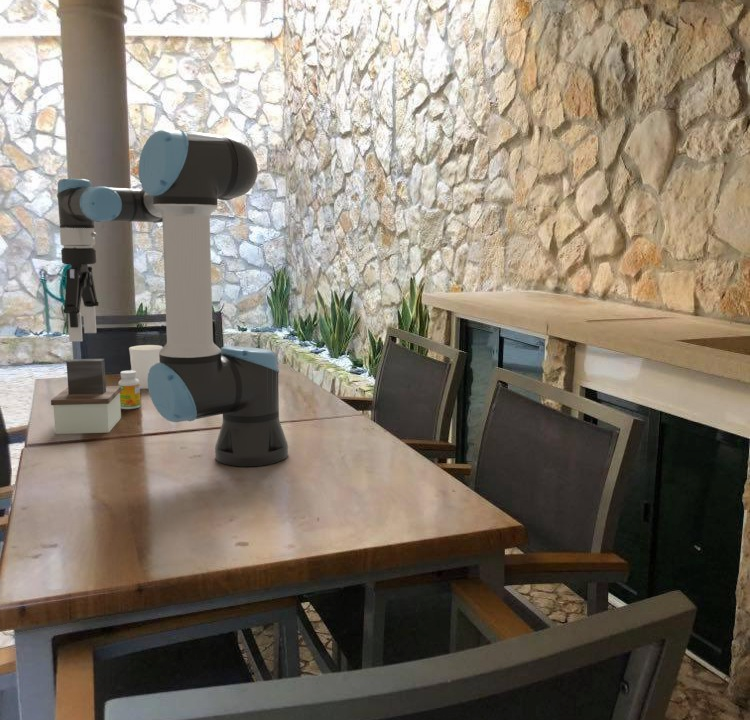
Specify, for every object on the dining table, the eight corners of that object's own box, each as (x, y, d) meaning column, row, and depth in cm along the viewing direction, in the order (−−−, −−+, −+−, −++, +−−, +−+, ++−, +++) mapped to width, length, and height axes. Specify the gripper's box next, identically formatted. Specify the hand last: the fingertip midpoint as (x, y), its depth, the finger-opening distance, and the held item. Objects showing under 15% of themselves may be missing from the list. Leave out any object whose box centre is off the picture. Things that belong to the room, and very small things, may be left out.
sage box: (108, 432, 176) (107, 403, 175) (55, 434, 174) (53, 404, 173) (121, 417, 189) (119, 390, 188) (71, 419, 188) (69, 392, 187)
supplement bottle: (115, 408, 199) (113, 373, 198) (126, 404, 204) (124, 369, 203) (133, 410, 198) (131, 374, 196) (144, 405, 203) (142, 370, 202)
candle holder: (131, 383, 232) (129, 345, 230) (163, 382, 235) (162, 344, 233) (130, 390, 223) (128, 350, 220) (165, 388, 225) (163, 349, 223)
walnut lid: (108, 407, 174) (106, 364, 173) (51, 408, 173) (48, 365, 171) (121, 393, 189) (119, 354, 187) (68, 394, 187) (66, 355, 186)
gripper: (81, 248, 163) (86, 345, 167) (106, 245, 187) (111, 329, 191) (45, 248, 162) (51, 345, 166) (75, 245, 186) (80, 329, 190)
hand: (83, 337), depth 178 cm, fingers open, 13 cm apart
